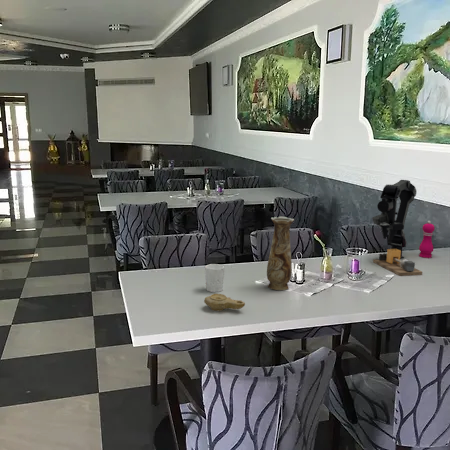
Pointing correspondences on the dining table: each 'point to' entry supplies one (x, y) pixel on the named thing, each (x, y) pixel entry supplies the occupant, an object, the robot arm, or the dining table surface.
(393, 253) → the sleeve
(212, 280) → the white cup
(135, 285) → the dining table surface
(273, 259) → the vase
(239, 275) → the dining table surface
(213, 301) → the oil lamp
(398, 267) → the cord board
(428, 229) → the pepper mill
